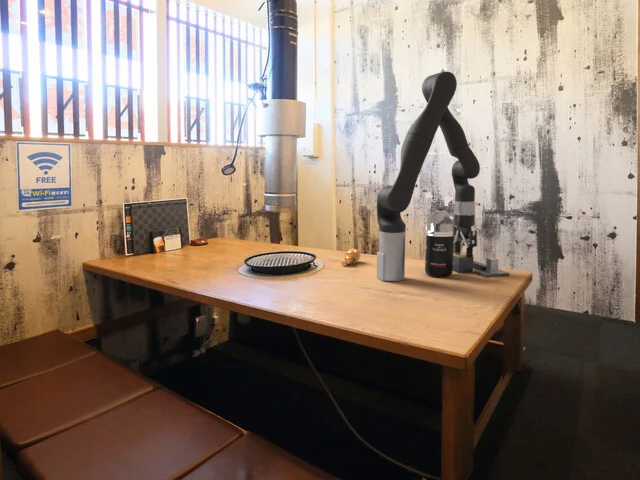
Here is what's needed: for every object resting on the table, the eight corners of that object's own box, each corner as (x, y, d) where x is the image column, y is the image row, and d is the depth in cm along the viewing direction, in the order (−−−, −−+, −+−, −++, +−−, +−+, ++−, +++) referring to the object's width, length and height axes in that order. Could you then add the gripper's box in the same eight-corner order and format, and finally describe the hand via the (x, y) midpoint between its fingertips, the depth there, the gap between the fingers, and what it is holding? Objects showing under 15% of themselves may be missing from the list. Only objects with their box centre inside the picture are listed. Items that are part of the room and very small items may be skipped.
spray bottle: (454, 278, 160) (457, 209, 156) (424, 277, 162) (426, 208, 158) (451, 272, 170) (454, 206, 166) (423, 271, 172) (425, 206, 168)
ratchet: (484, 277, 161) (485, 261, 161) (461, 267, 177) (461, 252, 176) (509, 275, 164) (510, 259, 163) (483, 266, 180) (484, 251, 179)
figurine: (334, 264, 183) (344, 253, 193) (344, 274, 182) (354, 263, 193) (347, 251, 178) (356, 241, 189) (358, 262, 178) (366, 251, 189)
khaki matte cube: (458, 273, 168) (459, 255, 167) (450, 269, 174) (451, 252, 173) (472, 272, 169) (473, 254, 168) (464, 269, 175) (465, 252, 174)
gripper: (446, 211, 174) (445, 252, 177) (465, 215, 160) (464, 259, 163) (463, 211, 176) (462, 251, 178) (484, 214, 162) (482, 258, 164)
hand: (463, 255), depth 171 cm, fingers open, 8 cm apart
